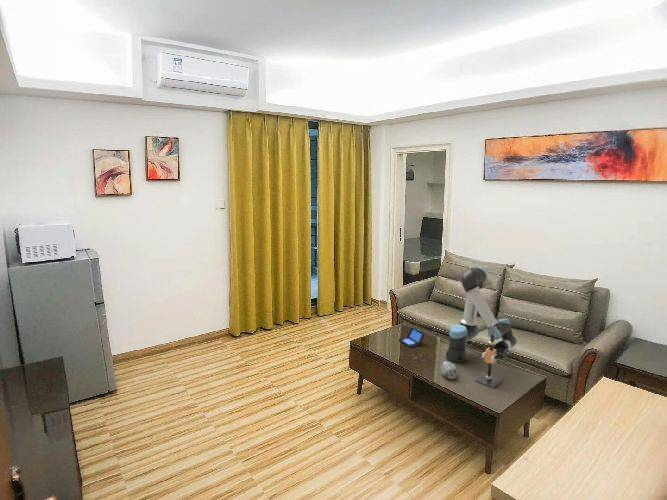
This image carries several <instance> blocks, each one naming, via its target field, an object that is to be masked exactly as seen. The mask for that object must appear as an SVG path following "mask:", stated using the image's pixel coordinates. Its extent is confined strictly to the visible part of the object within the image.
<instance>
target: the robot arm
mask: <svg viewBox="0 0 667 500" xmlns="http://www.w3.org/2000/svg"><path fill="white" fill-rule="evenodd" d="M487 279H488V273H487V271H486V270H485V269H484V268H483V267H480V266H475V267H472V268H469V269H466V270H465V271H463V272H462V274H461V276H460V283H461V286H462V289H463V291H464V293H465V294H466V297H465V303H464V304H465V305H464V310H463V318H461V319H460V321H459V324H454V325H452V326H451V327H449V338H448V348H447V350H446V353H445V360H446V361H448V362H451V363H453V364H454V363H455V364H464V363H466V362H468V360H469V359H468V356H469V355H468V353H467V342H468V341H471V340H473V339H475V338H476V336H478V334H479V331H480V330H479V326H478V321H476V319H477V314H479V315H480V317H481V319H482V320H483V323H484V324H485V326H486V328H487V329H488V332H487V336H488V338H489V339H490V337H491V335H490V334H488V333H489V326H491V325H492V323H494V326H497V334H496V335H494V341H496V340H499V339H500V340H499V341H497V342H495V345H493V349H496V350H497V353H496V354H495V355H493V356H492V357H491V361H493V360H495V359H496V360H498V359H501V360H502V359H504V358H505V357H507V356H509V354H510V351H509V350H510V349H512V348H514V347H515V346H516V345H517V343H518V338H517V337H516V336H515V335H514V333H513V330H512V326H511V323H510V319H508V318H500V319H498V320H497V319H496V317H495V315H494V313H493V312H492V310H491V308H490V306H489V304H488V303H487V301H486V299H485V298H484V295H483V294H482V292H481V290H483V289H484V284H485V282H486V281H487ZM489 347H490V345H489V344H488V345H487V346H485V347H484V348H483V349H482V354H481V359H485V350H486V349H487V348H489Z"/></svg>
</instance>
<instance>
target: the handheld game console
mask: <svg viewBox="0 0 667 500" xmlns="http://www.w3.org/2000/svg"><path fill="white" fill-rule="evenodd" d="M424 336H425V334H424V333H423V332H421V331H420V330H418V329H417V328H415V327H411V328H410V330H409V332H408V334H407V336H406V337H401V338H399V339H398V342H400V343H402V344H404V345H405V346H406V347H408V348H409V349H410V348H416V347H420V346H421V345H420V344H421V342H422V341H423V338H424Z"/></svg>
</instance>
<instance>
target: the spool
mask: <svg viewBox="0 0 667 500" xmlns="http://www.w3.org/2000/svg"><path fill="white" fill-rule="evenodd" d="M440 371H441V373H442V375H443V376H444V377H446V378H447V379H449V380H454V379H456V377H457V367H456V365H455V364H454V363H453V362H451V361H449V360H446V361H444V362H442V363H441V367H440Z"/></svg>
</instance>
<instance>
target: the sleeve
mask: <svg viewBox="0 0 667 500" xmlns="http://www.w3.org/2000/svg"><path fill="white" fill-rule="evenodd" d="M489 349H490V347H489V348H487V349H486V350H485V357H484V362H485V363H487V364H488V363H490V364H492V365H493V364H495V363H496V362H497V359H495V360H493V361H491V357H492V356H493V355H495V354H497V353H498V352H497V350H496V349H493V351H490V350H489Z"/></svg>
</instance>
